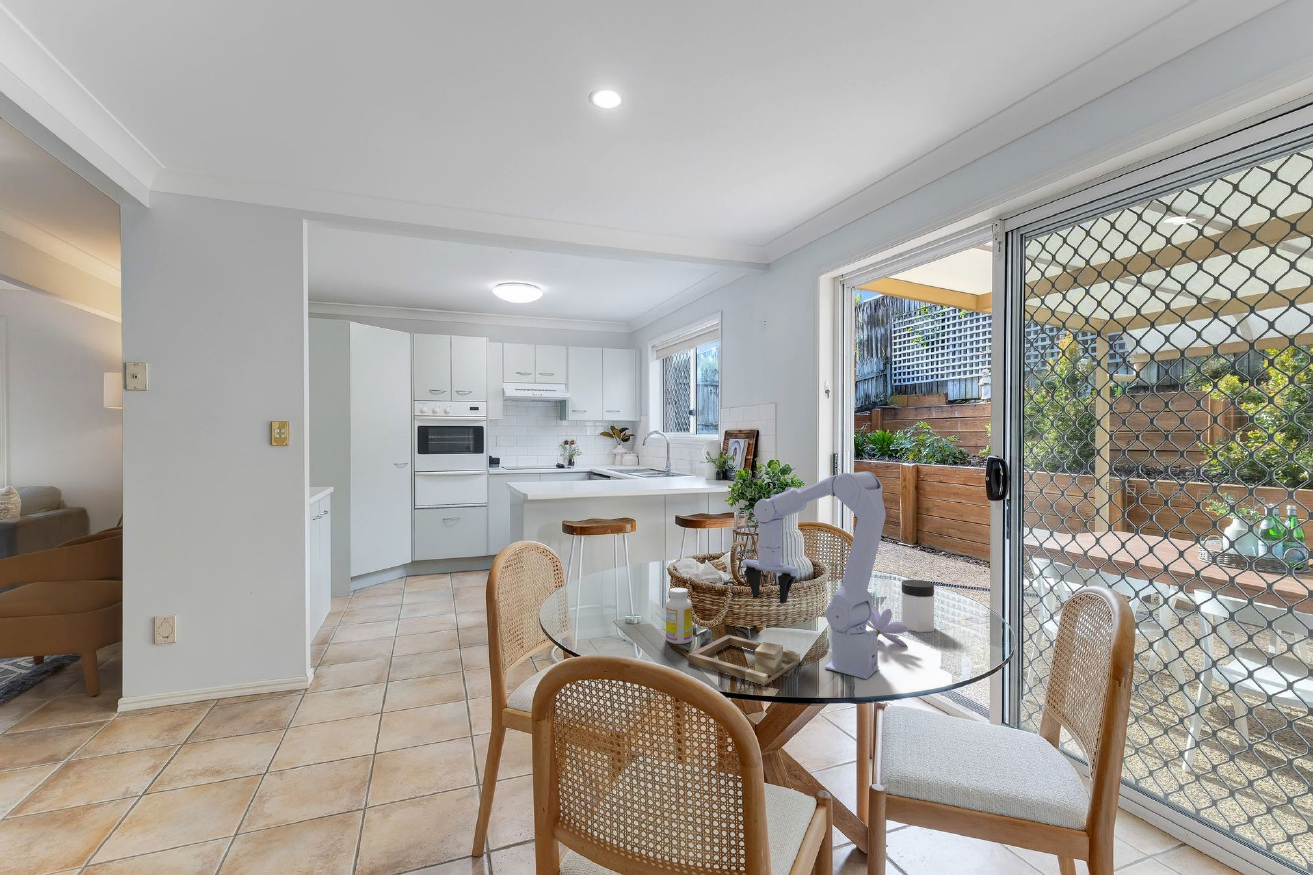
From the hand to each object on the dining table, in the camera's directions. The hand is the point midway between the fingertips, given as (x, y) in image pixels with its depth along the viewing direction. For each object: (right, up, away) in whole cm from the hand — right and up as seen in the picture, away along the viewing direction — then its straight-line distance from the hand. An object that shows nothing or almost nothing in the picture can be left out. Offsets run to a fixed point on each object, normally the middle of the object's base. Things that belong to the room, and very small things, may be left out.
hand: (769, 600), depth 152 cm
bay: (-8, -11, -14) cm, 19 cm away
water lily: (+28, -11, -2) cm, 30 cm away
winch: (-17, -10, -4) cm, 21 cm away
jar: (+42, -11, +11) cm, 45 cm away
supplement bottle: (-23, -11, 0) cm, 25 cm away
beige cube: (-3, -11, -18) cm, 21 cm away
